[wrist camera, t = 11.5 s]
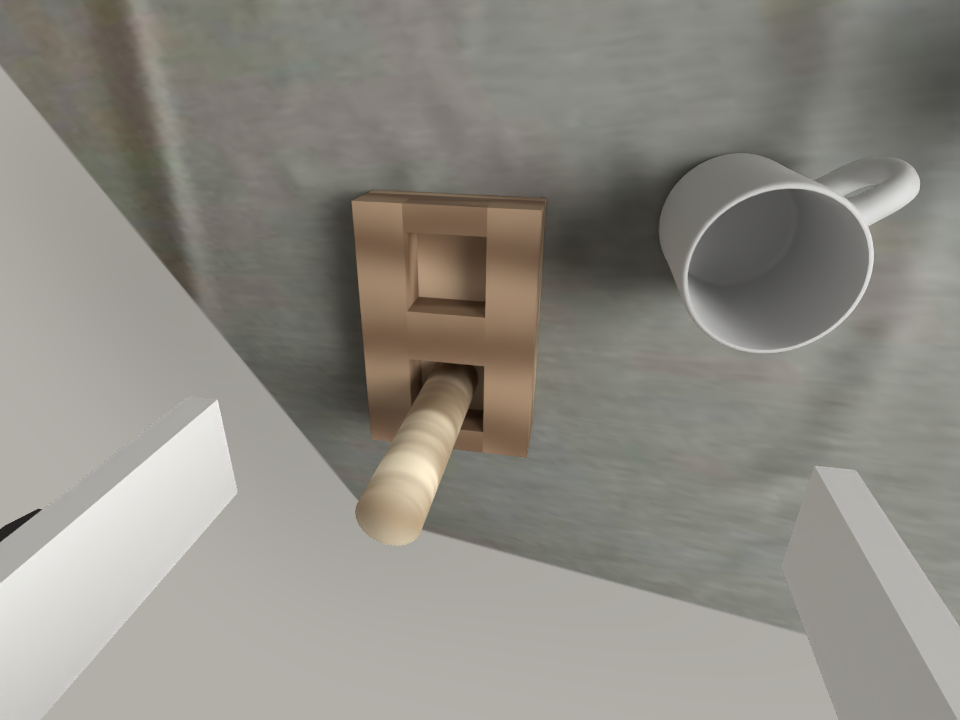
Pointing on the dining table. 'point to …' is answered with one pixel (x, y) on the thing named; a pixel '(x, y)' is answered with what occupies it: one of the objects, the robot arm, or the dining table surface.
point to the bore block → (451, 306)
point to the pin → (417, 457)
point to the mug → (776, 245)
